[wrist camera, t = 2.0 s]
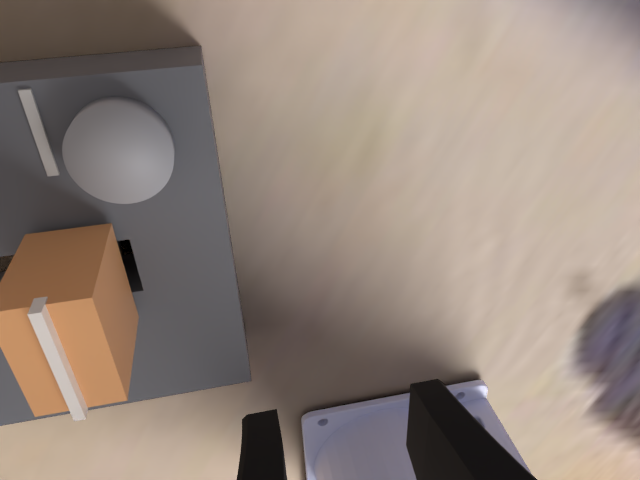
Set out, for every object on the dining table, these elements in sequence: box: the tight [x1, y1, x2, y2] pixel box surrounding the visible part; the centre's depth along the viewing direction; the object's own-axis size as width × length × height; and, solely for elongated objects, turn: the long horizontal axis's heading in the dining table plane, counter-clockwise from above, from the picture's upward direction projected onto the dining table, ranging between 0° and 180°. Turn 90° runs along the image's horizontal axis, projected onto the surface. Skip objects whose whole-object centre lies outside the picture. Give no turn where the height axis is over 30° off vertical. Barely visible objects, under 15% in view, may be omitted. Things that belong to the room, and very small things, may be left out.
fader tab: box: [0, 223, 139, 421], centre depth 16 cm, size 2×4×6 cm, turn 2°
